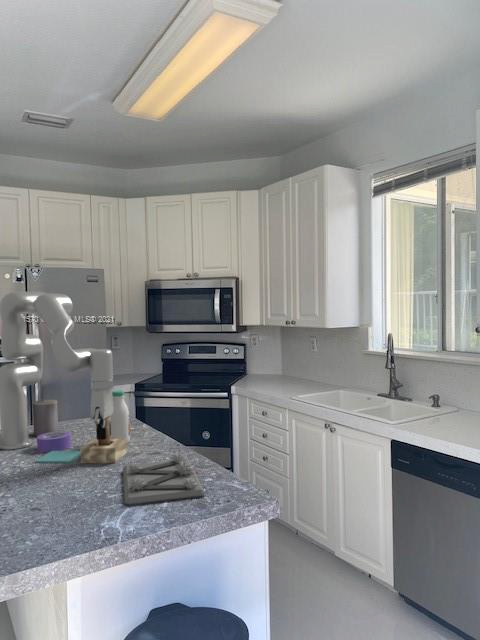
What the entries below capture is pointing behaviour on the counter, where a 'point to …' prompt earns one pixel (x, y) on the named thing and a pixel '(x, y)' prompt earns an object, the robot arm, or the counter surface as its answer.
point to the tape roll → (53, 441)
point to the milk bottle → (120, 418)
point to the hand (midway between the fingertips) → (103, 436)
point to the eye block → (103, 451)
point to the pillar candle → (45, 417)
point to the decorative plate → (161, 481)
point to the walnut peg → (106, 441)
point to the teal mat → (59, 457)
